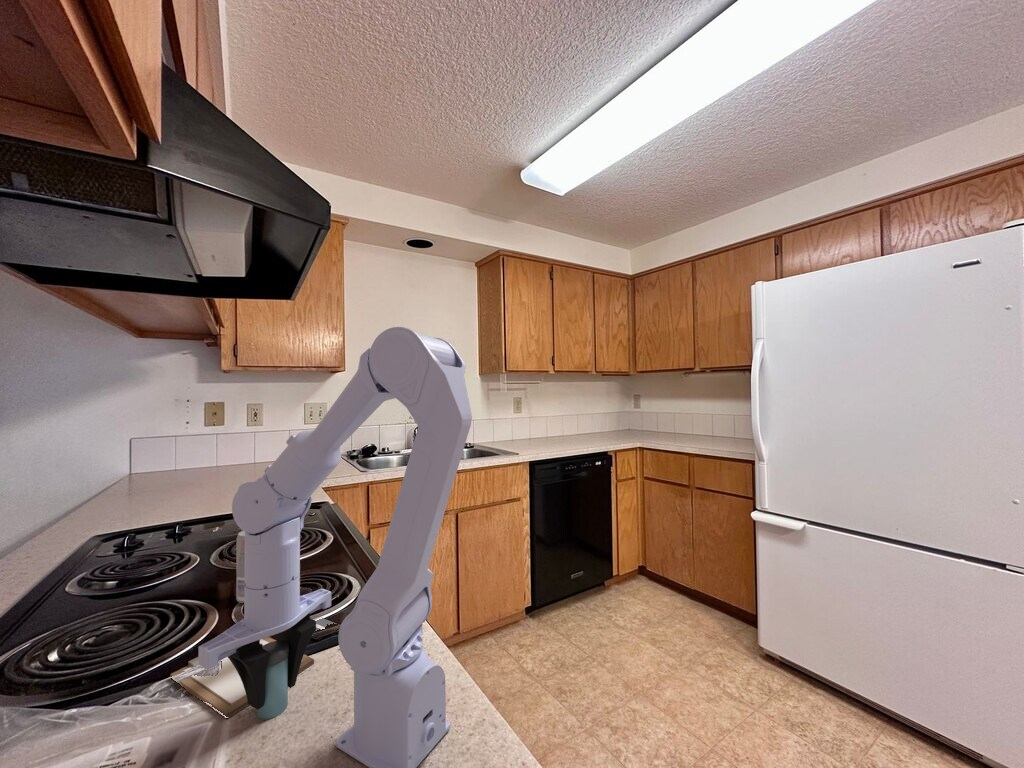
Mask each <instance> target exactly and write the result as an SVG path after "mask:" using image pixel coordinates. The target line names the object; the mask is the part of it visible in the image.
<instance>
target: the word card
mask: <svg viewBox="0 0 1024 768" xmlns="http://www.w3.org/2000/svg"><path fill="white" fill-rule="evenodd" d="M321 618H322V619H319V620H317V621H316V631H317V630H319V629H320V630H322V629H325V627H326V626H327V624H328V625H330V624H333V623H334V624H337V623H335V622H333V621H331V620H328V619H325V618H323V617H321Z"/></svg>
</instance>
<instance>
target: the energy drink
mask: <svg viewBox="0 0 1024 768" xmlns="http://www.w3.org/2000/svg"><path fill="white" fill-rule="evenodd" d="M235 549H236V550H235V552H236V554H235V555H236V556H235V557H236V560H235V561H236V568H235V569H236V570H235V574H236V576H235V581H236V583H235V584H236V585H235V587H236V588H235V591H236V593H235V597H236V598H235V600H236V601H237V602H238V604H239V603H240V604H243V602H244V597H245V584H244V580H245V531H243V530H241V531H239V532H238V533H237V537H236V548H235Z"/></svg>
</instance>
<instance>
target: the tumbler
mask: <svg viewBox="0 0 1024 768" xmlns="http://www.w3.org/2000/svg"><path fill="white" fill-rule="evenodd" d="M263 649H264V650H266V651H268V652H270V653H271V655H270V658H269V661H268V665H267V671H266V677H265V702H264V706H263V707H261V708H260V709H258V710H256V717H257V719H260V720H264V721H265V720H270V719H273V718H276V717H278V716H280V715H281V714H282V713H283V712H284V711H286V709H287V708H288V704H289V695H288V694H289V687H288V655H289V643H288V642H287V641H283V640H278V639H277V640H276V641H273V642H270V643H267V644H265V645H263Z"/></svg>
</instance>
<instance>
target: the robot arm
mask: <svg viewBox="0 0 1024 768" xmlns="http://www.w3.org/2000/svg"><path fill="white" fill-rule="evenodd" d="M466 366H467V365H466V363H465V361H464V360H463V359H462V357H461V356H460V354H459V353H458V351H457V350H456V348H455V347H454V345H452V344H451V343H450V341H447V340H446V339H443V338H441V337H432V336H429V335H426V334H422V333H419V332H417V331H414V330H412V329H410V328H409V327H404V326H393V327H390V328H388V329H385V330H383V331H382V332H380V334H379V335H377V337H375V339H374V341H373V342H372V344H371V346H370V347H368V349H366V350H365V351H364V352H363V353H362V354H361V355H360V357H359V362H358V367H357V371H356V372H355V374H354V375H353V376H352V378H351V379H350V381H349V382H348V383H347V385H346V387H344V388H343V390H342V391H341V393H340V394H339V395H338V397H337V398H336V400H335V401H334V403H333V404H332V405H331V407H330V408H329V409H328V411H327V412H326V413H325V415H324V416H323V418H322V419H321V421H320V422H319V423H318V425H317V426H316V427H315V429H314V430H313V429H307V430H303V431H300V432H298V433H297V434H291V435H290V436H289V437H288V439H286V441H285V442H286V444H287V446H286V447H285V449H284V450H283V451H282V452H281V454H279V455H278V457H276V459H275V461H273V462H272V464H269V465H268V466H267V467H266V468H265V469H264V471H263V472H264V473H263V474H262V476H261V477H258V478H257V479H256V480H250V481H246V482H243V483H242V484H240V485H239V486H238V489H237V491H236V493H235V494H234V496H233V499H232V504H231V513H232V516H233V520H234V522H235V524H236V525H237V526H238V527H239V528H240V530H241V531H245V580H244V584H245V597H244V607H243V608H244V611H243V612H244V613H243V614H244V616H243V617H244V618H242V619H240V620H238V622H236V623H234V624H233V625H232V626H230V627H229V628H227V629H226V630H224V631H223V632H222V633H220V634H219V635H217V636H215V637H214V638H212V639H210V640H208V641H206V642H204V643H203V644H201V645H199V646H198V656H197V657H198V665H200V666H201V667H203V668H204V669H206V670H210V669H212V668H214V667H216V666H217V665H218V663H219V661H220V660H222V659H224V658H226V657H228V658H229V659H230V661H231V662H232V664H233V665H234V667H235V669H236V670H237V672H238V674H239V676H240V678H241V681H242V683H243V686H244V689H245V692H246V696H247V701H248V704H249V706H251V708H253V709H255V710H256V711H257V710H258V709H260V708H261V707H263V706H264V702H265V677H266V671H267V665H268V661H269V658H270V655H271V653H270V652H268V651H266V650H264V649H263V644H260V640H261V639H263V638H266V637H272V636H274V635H276V638H277V641H278V640H283V641H287V642H288V643H289V655H288V689H291V688H293V687H295V686H296V683H297V679H298V676H299V675H298V672H299V668H300V665H301V661H302V658H303V655H305V653H306V650H307V648H308V645H309V643H310V641H311V640H312V639H311V637H312V636H313V634H314V632H315V631H316V621H315V620H313V619H312V618H311V614H312V613H314V612H316V611H318V610H321V609H322V610H326V609H327V608H330V607H331V606H332V591H330V590H327V589H325V588H320V589H317V590H314V591H312V592H309V593H306V594H303V595H301V594H300V593H301V591H300V589H301V586H300V585H301V573H300V572H301V563H300V562H301V532H302V529H304V522H305V521H304V520H305V516H306V514H307V513H308V512H309V510H310V508H311V505H312V501H313V497H312V495H313V494H314V493H315V491H316V490H318V488H319V487H320V486H321V484H322V483H323V482H324V481H325V480H326V479H327V478H328V477H329V475H330V474H331V473H332V472H333V471H334V470H335V468H336V467H337V466H339V464H340V462H341V461H342V452H341V446H342V445H343V444H345V442H346V441H347V440H348V439H349V438H350V437H352V435H353V434H354V433H355V432H357V430H358V429H359V428H360V427H361V426H362V425H363V424H364V423H365V421H366V420H368V419H369V418H370V417H371V416H372V414H373V413H374V412H375V411H377V410H378V408H379V407H380V406H382V404H383V403H385V402H386V401H387V402H388V401H389V400H394V399H396V400H398V402H400V403H401V405H403V406H404V407H405V408H406V409H407V411H408V412H409V414H410V415H411V417H412V419H413V420H414V422H415V424H416V425H417V431H416V434H415V436H414V437H415V438H414V441H413V444H412V447H411V451H410V454H409V457H408V461H407V465H406V468H405V472H404V476H403V478H402V481H401V485H400V489H399V492H398V495H397V499H396V501H395V502H396V503H395V506H394V509H393V512H392V516H391V519H390V523H389V526H388V529H387V533H386V537H385V540H384V543H383V547H382V549H381V554H380V556H379V557H380V558H379V560H378V564H377V566H376V568H375V569H374V571H373V573H372V574H371V576H370V577H369V579H368V580H367V582H366V583H365V584H364V586H363V587H362V589H361V590H360V592H359V594H358V595H357V600H356V603H355V605H354V607H353V609H352V610H351V612H350V613H349V614H348V615H346V616H345V618H344V619H343V620H342V622H341V624H340V625H341V626H340V629H339V630H338V636H337V637H338V647H339V649H340V653H341V655H342V657H343V659H344V660H345V662H346V663H347V664H348V665H349V666H350V670H351V671H353V724H352V725H351V726H350V727H349V728H348V729H347V730H346V731H344V732H343V733H342V734H341V735H340V736H338V737H337V738H336V739H335V740H334V741H335V745H334V746H335V748H338V749H339V750H341V751H342V752H344V753H345V754H347V755H349V756H350V757H352V758H353V759H355V760H356V761H358V762H360V763H362V764H363V765H364V766H366V767H368V768H417V767H418V766H419V765H420V764H421V762H422V761H423V760H424V759H425V758H426V756H427V755H428V754H429V753H430V752H431V751H432V750H433V749H434V748H435V746H436V745H437V744H438V743H439V741H441V740H442V738H443V737H444V736H445V734H446V733H447V732H448V731H449V730H450V729H451V722H450V721H449V720H447V718H446V716H447V715H446V711H447V709H446V707H447V705H446V699H447V698H446V695H447V694H446V674H445V671H444V668H443V667H442V666H440V665H439V664H438V663H436V662H435V661H434V660H433V659H432V658H430V657H429V655H428V654H427V652H426V650H425V648H424V646H423V643H424V642H423V623H425V622H426V620H427V619H428V618H429V616H430V615H431V612H432V609H433V596H432V589H431V588H432V582H433V578H434V573H433V572H432V570H431V569H429V565H430V563H431V559H432V556H433V552H434V549H435V545H436V542H437V539H438V535H439V532H440V529H441V526H442V522H443V519H444V516H445V512H446V508H447V506H448V502H449V499H450V496H451V492H452V489H453V486H454V483H455V480H456V476H457V472H458V468H459V466H460V462H461V459H462V456H463V452H464V449H465V446H466V442H467V439H468V436H469V432H470V431H471V430H470V429H471V427H472V426H471V425H472V421H473V416H472V414H473V413H472V408H471V404H470V403H471V402H470V399H469V398H470V397H469V394H468V390H467V384H466V379H465V373H466Z"/></svg>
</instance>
